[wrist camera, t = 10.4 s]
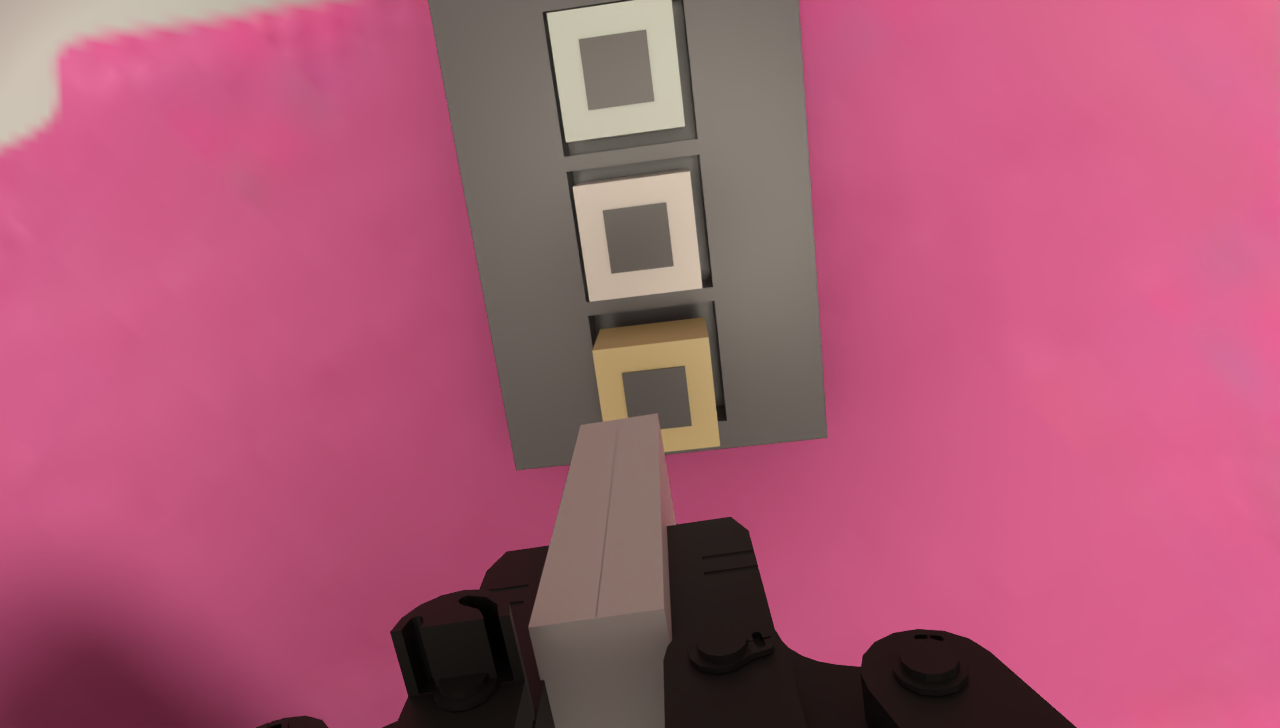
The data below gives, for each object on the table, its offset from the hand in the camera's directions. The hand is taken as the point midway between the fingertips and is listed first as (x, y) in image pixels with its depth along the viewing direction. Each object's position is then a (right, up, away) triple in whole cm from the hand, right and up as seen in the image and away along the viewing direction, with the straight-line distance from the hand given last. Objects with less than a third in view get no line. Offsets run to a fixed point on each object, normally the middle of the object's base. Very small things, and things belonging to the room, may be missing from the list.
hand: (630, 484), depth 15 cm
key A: (0, +14, +16) cm, 21 cm away
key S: (+1, +2, +18) cm, 18 cm away
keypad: (0, +11, +18) cm, 22 cm away
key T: (0, +8, +17) cm, 19 cm away
